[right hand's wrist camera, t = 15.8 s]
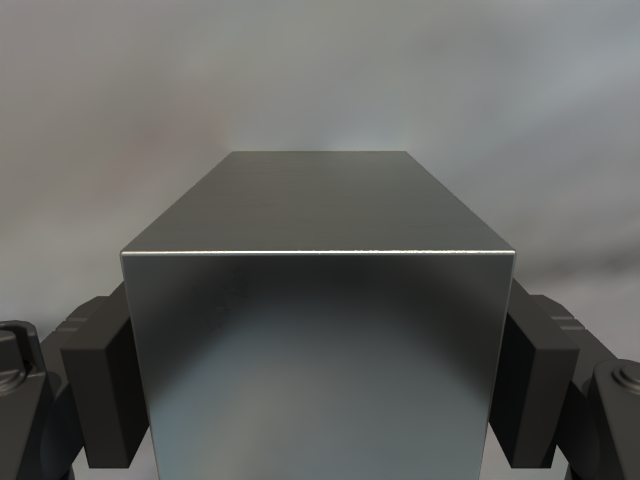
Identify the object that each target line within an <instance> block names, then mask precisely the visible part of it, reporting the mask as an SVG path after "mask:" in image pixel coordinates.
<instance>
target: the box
mask: <svg viewBox="0 0 640 480" xmlns="http://www.w3.org/2000/svg"><path fill="white" fill-rule="evenodd" d="M515 260H516V250H515V249H514V248H513V247H511V246H510V245H509V244H508V243H507V242H506V241H505V240H504V239H503V238H501V237H500V236H499V235H498V234H497V233H496V232H495V231H494V230H493V229H491V228H490V227H489V226H488V225H487V224H486V223H485V222H484V221H483V220H481V219H480V218H479V217H478V216H477V215H476V214H475V213H474V212H473V211H471V210H470V209H469V208H468V207H467V206H466V205H465V204H464V203H463V202H461V201H460V200H459V199H458V198H457V197H456V196H455V195H454V194H453V193H451V192H450V191H449V190H448V189H447V188H446V187H445V186H444V185H443V184H441V183H440V182H439V181H438V180H437V179H436V178H435V177H434V176H433V175H431V174H430V173H429V172H428V171H427V170H426V169H425V168H424V167H423V166H421V165H420V164H419V163H418V162H417V161H416V160H415V159H414V158H413V157H412V156H410V155H409V154H408V153H407V152H406V151H250V152H231V153H230V154H229V155H228V156H227V157H226V158H225V159H223V160H222V161H221V162H220V163H219V164H218V165H217V166H216V167H215V168H213V169H212V170H211V171H210V172H209V173H208V174H207V175H206V176H204V177H203V178H202V179H201V180H200V181H199V182H198V183H197V184H195V185H194V186H193V187H192V188H191V189H190V190H189V191H188V192H186V193H185V194H184V195H183V196H182V197H181V198H180V199H179V200H177V201H176V202H175V203H174V204H173V205H172V206H171V207H170V208H168V209H167V210H166V211H165V212H164V213H163V214H162V215H161V216H159V217H158V218H157V219H156V220H155V221H154V222H153V223H152V224H150V225H149V226H148V227H147V228H146V229H145V230H144V231H143V232H141V233H140V234H139V235H138V236H137V237H136V238H135V239H134V240H132V241H131V242H130V243H129V244H128V245H127V246H126V247H125V248H123V249H122V250H121V251H120V261H121V266H122V272H123V278H124V283H125V289H126V295H127V300H128V306H129V312H130V317H131V323H132V329H133V334H134V340H135V346H136V351H137V357H138V363H139V368H140V374H141V380H142V385H143V391H144V397H145V402H146V408H147V414H148V419H149V425H150V431H151V436H152V442H153V448H154V453H155V459H156V465H157V470H158V476H159V480H479V475H480V469H481V463H482V457H483V451H484V445H485V439H486V433H487V427H488V421H489V415H490V409H491V403H492V397H493V391H494V385H495V379H496V373H497V368H498V362H499V356H500V350H501V344H502V338H503V332H504V326H505V320H506V314H507V308H508V302H509V296H510V290H511V284H512V278H513V272H514V266H515Z"/></svg>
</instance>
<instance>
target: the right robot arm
mask: <svg viewBox="0 0 640 480" xmlns="http://www.w3.org/2000/svg"><path fill="white" fill-rule="evenodd" d="M489 423H490V425H491V427H492V429H493V431H494V433H495V435H496V437H497V440H498V442H499V444H500V446H501V448H502V450H503V452H504V454H505V456H506V458H507V460H508V462H509V464H510V466H511V468H551V465H552V461H553V457H554V453H555V449H556V445H558V447H559V448H560V450H561V451H562V453H563V454H564V456H565V458H566V459H567V461H568V462H569V464H568V468H567V472H566V475H565V479H564V480H640V363H638V362H634V361H631V360H625V359H618V358H616V357H615V356H614V355H613V354H612V353H611V352H610V351H609V350H608V349H607V348H606V347H605V346H604V345H603V344H602V343H601V342H600V341H599V340H598V339H597V338H596V337H595V336H594V335H592V334H591V333H590V332H589V331H588V330H585V327H584V326H583V325H582V324H581V323H580V322H579V321H578V320H577V319H574V316H573V315H572V314H571V313H570V312H568V311H567V310H566V309H565V308H564V307H563V306H562V305H561V304H559V303H557V302H555V301H553V300H551V299H550V298H548V297H546V296H544V295H529V294H528V293H527V292H526V291H525V290H524V288H523V287H522V286H521V285H520V284H519V283H518V282H517V281H516V280H515V279H514V278H512V284H511V290H510V296H509V302H508V308H507V314H506V320H505V326H504V332H503V338H502V344H501V350H500V356H499V362H498V368H497V373H496V379H495V385H494V391H493V397H492V403H491V409H490V415H489ZM148 427H149V419H148V414H147V408H146V402H145V397H144V391H143V385H142V380H141V374H140V368H139V363H138V357H137V351H136V346H135V340H134V334H133V329H132V323H131V317H130V312H129V306H128V300H127V295H126V289H125V283H124V281H123V282H122V283H121V284H120V285H119V286H118V287H117V288H116V290H115V291H114V292H113V293H112V294H111V295H110V296H97V297H95V298H93V299H92V300H90V301H88V302H86V303H84V304H82V305H81V306H79V307H78V308H77V309H76V310H75V311H73V312H72V313H71V314H70V315H69V316H68V317H67V318H66V321H63V322H62V323H61V324H60V325H59V326H58V327H57V328H56V331H53V332H52V333H51V334H50V335H49V336H48V337H47V338H46V339H45V340H43V341H42V342H41V343H39V339H38V336H37V332H36V328H35V326H34V325H32V324H31V323H29V322H26V321H18V320H13V321H1V322H0V480H75V477H74V472H73V468H72V463H73V461H74V460H75V458H76V457H77V455H78V454H79V452H80V450H81V449H82V447H83V446H84V449H85V453H86V457H87V461H88V465H89V468H129V466H130V464H131V462H132V460H133V458H134V456H135V454H136V452H137V450H138V448H139V446H140V444H141V442H142V440H143V437H144V435H145V433H146V431H147V429H148Z"/></svg>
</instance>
